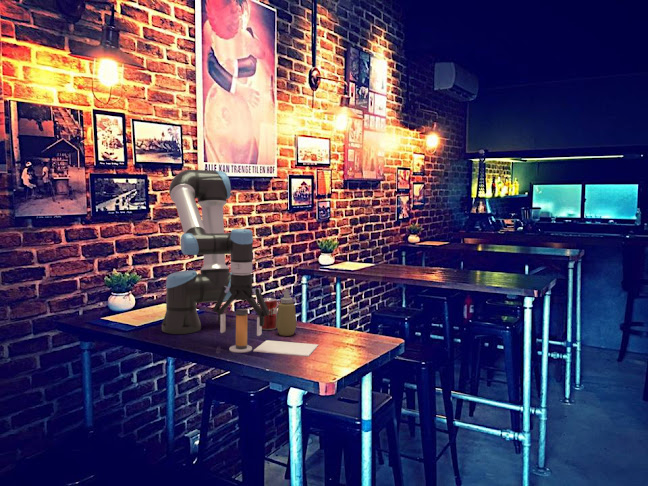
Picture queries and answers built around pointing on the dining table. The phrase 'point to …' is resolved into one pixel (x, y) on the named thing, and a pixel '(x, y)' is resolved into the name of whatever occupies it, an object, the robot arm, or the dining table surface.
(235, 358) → the dining table surface
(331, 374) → the dining table surface
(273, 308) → the soda can
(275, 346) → the paper
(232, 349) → the coaster
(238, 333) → the thermos bottle
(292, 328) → the squeeze bottle
